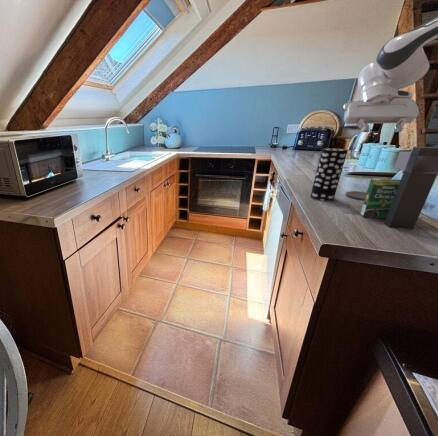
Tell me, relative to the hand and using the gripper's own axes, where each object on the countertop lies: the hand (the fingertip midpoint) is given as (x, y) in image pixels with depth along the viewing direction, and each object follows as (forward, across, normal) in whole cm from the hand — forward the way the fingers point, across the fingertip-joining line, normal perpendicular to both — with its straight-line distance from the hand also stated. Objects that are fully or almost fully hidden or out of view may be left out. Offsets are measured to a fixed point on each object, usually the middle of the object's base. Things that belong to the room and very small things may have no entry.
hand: (382, 130), depth 84 cm
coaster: (+10, +6, +28) cm, 31 cm away
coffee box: (+28, 0, +11) cm, 30 cm away
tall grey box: (+31, +3, +7) cm, 32 cm away
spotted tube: (+14, -10, +25) cm, 30 cm away
